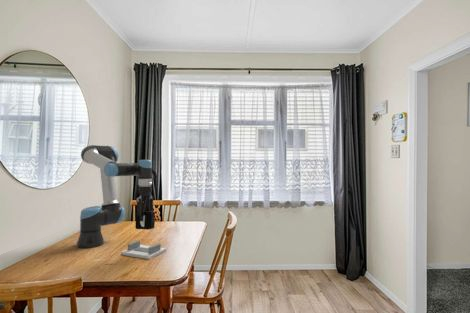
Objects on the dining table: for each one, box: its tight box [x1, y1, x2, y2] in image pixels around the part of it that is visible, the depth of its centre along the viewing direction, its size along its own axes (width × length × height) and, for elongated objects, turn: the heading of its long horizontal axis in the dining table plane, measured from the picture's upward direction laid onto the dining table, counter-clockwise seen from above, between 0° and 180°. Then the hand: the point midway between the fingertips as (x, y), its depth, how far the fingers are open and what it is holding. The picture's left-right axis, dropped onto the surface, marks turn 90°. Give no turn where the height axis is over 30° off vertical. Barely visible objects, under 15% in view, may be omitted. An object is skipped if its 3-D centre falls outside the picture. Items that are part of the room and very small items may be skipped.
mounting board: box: [120, 240, 167, 260], centre depth 159 cm, size 20×15×5 cm
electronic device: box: [135, 210, 156, 230], centre depth 161 cm, size 4×10×10 cm, turn 77°
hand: (145, 225), depth 162 cm, fingers closed on electronic device, 4 cm apart
